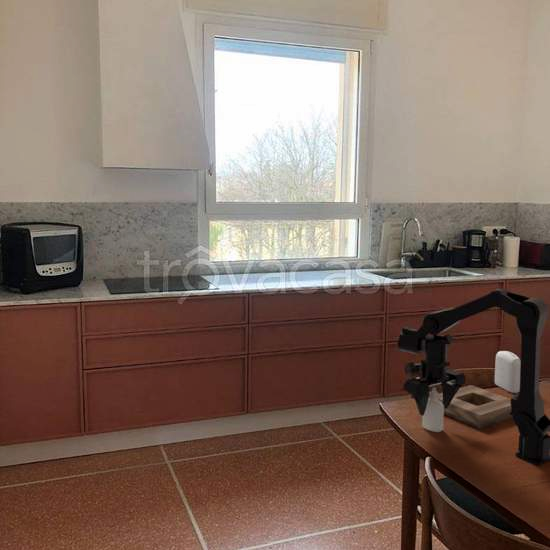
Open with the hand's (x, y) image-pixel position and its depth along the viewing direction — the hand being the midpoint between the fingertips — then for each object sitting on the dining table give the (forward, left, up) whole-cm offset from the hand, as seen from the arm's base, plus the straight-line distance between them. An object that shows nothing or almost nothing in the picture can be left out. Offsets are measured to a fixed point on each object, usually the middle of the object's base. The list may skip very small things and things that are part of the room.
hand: (433, 411), depth 165 cm
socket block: (+2, -20, -5) cm, 21 cm away
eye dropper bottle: (0, 0, -5) cm, 5 cm away
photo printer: (+10, -46, -5) cm, 47 cm away
